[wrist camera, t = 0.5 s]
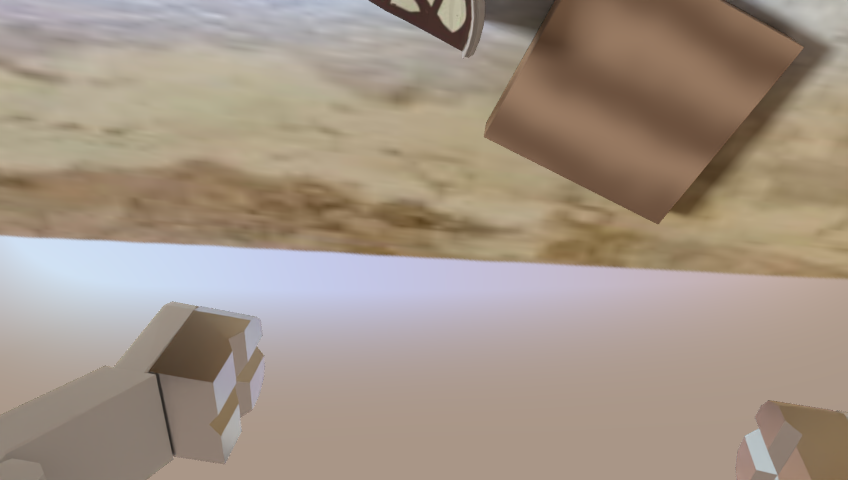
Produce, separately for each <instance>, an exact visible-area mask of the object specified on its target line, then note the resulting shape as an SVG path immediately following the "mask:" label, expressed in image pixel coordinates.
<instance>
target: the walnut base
mask: <svg viewBox="0 0 848 480" xmlns="http://www.w3.org/2000/svg"><path fill="white" fill-rule="evenodd" d="M803 48H804V47H803V46H801V45H800V44H799V43H797V42H796V41H795V40H793V39H792V38H791V37H789V36H788V35H786V34H784V33H782V32H781V31H779V30H777V29H775V28H773V27H772V26H770V25H768V24H766V23H764V22H763V21H761V20H759V19H757V18H755V17H754V16H752V15H750V14H748V13H746V12H745V11H743V10H741V9H739V8H737V7H736V6H734V5H732V4H730V3H728V2H727V1H725V0H555V1H554V3H553V5H552V7H551V8H550V10H549V12H548V14H547V16H546V17H545V19H544V21H543V23H542V24H541V26H540V28H539V30H538V32H537V33H536V35H535V37H534V39H533V41H532V42H531V44H530V46H529V48H528V49H527V51H526V53H525V55H524V57H523V58H522V60H521V62H520V64H519V65H518V67H517V69H516V71H515V73H514V74H513V76H512V78H511V80H510V81H509V83H508V85H507V87H506V89H505V90H504V92H503V94H502V96H501V98H500V99H499V101H498V103H497V105H496V106H495V108H494V110H493V112H492V114H491V115H490V117H489V119H488V121H487V122H486V128H485V133H484V137H485V138H487V139H489V140H491V141H493V142H495V143H497V144H499V145H501V146H503V147H505V148H507V149H509V150H511V151H513V152H515V153H517V154H519V155H521V156H523V157H525V158H527V159H529V160H531V161H533V162H535V163H537V164H539V165H541V166H543V167H545V168H547V169H549V170H551V171H553V172H555V173H557V174H559V175H561V176H563V177H565V178H567V179H569V180H571V181H573V182H575V183H577V184H579V185H581V186H583V187H585V188H587V189H589V190H591V191H593V192H595V193H597V194H599V195H601V196H603V197H605V198H607V199H609V200H611V201H613V202H614V203H616V204H618V205H620V206H622V207H624V208H626V209H628V210H630V211H632V212H634V213H636V214H638V215H640V216H642V217H644V218H646V219H648V220H650V221H652V222H654V223H656V224H659V223H660V222H661V220H662V219H663V218H664V217H665V216H666V214H667V213H668V212H669V211H670V210H671V208H672V207H673V206H674V205H675V203H676V202H677V201H678V200H679V199H680V197H681V196H682V195H683V194H684V193H685V191H686V190H687V189H688V188H689V187H690V185H691V184H692V183H693V182H694V180H695V179H696V178H697V177H698V176H699V174H700V173H701V172H702V171H703V170H704V168H705V167H706V166H707V165H708V163H709V162H710V161H711V160H712V159H713V157H714V156H715V155H716V154H717V153H718V151H719V150H720V149H721V148H722V147H723V145H724V144H725V143H726V142H727V140H728V139H729V138H730V137H731V136H732V134H733V133H734V132H735V131H736V130H737V128H738V127H739V126H740V125H741V123H742V122H743V121H744V120H745V119H746V117H747V116H748V115H749V114H750V113H751V111H752V110H753V109H754V108H755V106H756V105H757V104H758V103H759V102H760V100H761V99H762V98H763V97H764V96H765V94H766V93H767V92H768V91H769V90H770V88H771V87H772V86H773V85H774V83H775V82H776V81H777V80H778V79H779V77H780V76H781V75H782V74H783V73H784V71H785V70H786V69H787V68H788V66H789V65H790V64H791V63H792V62H793V60H794V59H795V58H796V57H797V56H798V54H799V53H800V52H801V51H802V49H803Z"/></svg>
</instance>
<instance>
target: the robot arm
mask: <svg viewBox="0 0 848 480" xmlns="http://www.w3.org/2000/svg"><path fill="white" fill-rule="evenodd" d="M261 337H262V327H261V320H260V319H259V318H257V317H255V316H250V315H245V314H239V313H234V312H229V311H223V310H218V309H213V308H208V307H202V306H200V307H198V306H193V305H188V304H183V303H178V302H170V303H168V304H166V305H164V306H163V307H162V308H161V310H160V311H159V312H158V313H157V314H156V316H155V317H154V318H153V319H152V321H151V322H150V323H149V324H148V326H147V327H146V328H145V329H144V330H143V332H142V333H141V334H140V335H139V336H138V338H137V339H136V340H135V342H134V343H133V344H132V345H131V347H130V348H129V349H128V350H127V351H126V352H125V354H124V355H123V356H122V357H121V358H120V360H119V361H118V362H117V363H116V365H115V366H114V367H110V366H103V367H101V368H99V369H97V370H95V371H92V372H90V373H88V374H86V375H84V376H82V377H80V378H77V379H75V380H73V381H71V382H69V383H67V384H65V385H63V386H61V387H58V388H56V389H54V390H52V391H50V392H48V393H46V394H43V395H41V396H39V397H37V398H35V399H33V400H31V401H29V402H26V403H24V404H22V405H20V406H18V407H16V408H14V409H12V410H10V411H8V412H5V413H3V414H1V415H0V480H147V479H148V478H149V477H151V476H152V475H153V474H155V473H156V472H157V471H159V470H160V469H161V468H163V467H164V466H165V465H167V464H168V463H169V462H171V461H172V460H173V456H174V457H181V458H187V459H194V460H200V461H206V462H213V463H220V464H225V463H226V461H227V459H228V457H229V455H230V453H231V451H232V449H233V447H234V446H235V444H236V442H237V440H238V438H239V436H240V433H241V431H242V429H241V420H240V417H242V416H244V415H245V414H247V413H248V412H250V411H252V410H253V408H254V406H255V403H256V401H257V399H258V397H259V394H260V391H261V387H262V383H263V380H264V370H265V363H264V355H263V354H262V353H261V351H260V350H259V349H258V347H257V345H258V343H259V341H260V339H261ZM755 419H756V421H757V424H758V426H759V429H757V430H755V431H753V432H752V433H750V434H748V435H746V436H744V439H743V441H742V442H741V445H740V447H739V449H738V452H737V459H736V477H737V480H848V412H845V411H833V410H829V409H823V408H816V407H810V406H803V405H797V404H790V403H784V402H777V401H771V400H768V401H767V402H765V403H764V404H763V405H761V407H760V409H759V411H758V413H757V414H756V416H755Z"/></svg>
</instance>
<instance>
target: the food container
mask: <svg viewBox="0 0 848 480" xmlns="http://www.w3.org/2000/svg"><path fill="white" fill-rule="evenodd" d="M369 1H371V2H372V3H374V4H375V5H377V6H379V7H380V8H382V9H384V10H385V11H387V12H389V13H391V14H393V15H395V16H397V17H399V18H401V19H403V20H405V21H407V22H409V23H411V24H413V25H415V26H417V27H419V28H421V29H422V30H424V31H426V32H428V33H430V34H432V35H433V36H435V37H437V38H439V39H441V40H442V41H444V42H446V43H448V44H450V45H452V46H453V47H455V48H457V49H459V50H461V51H462V59H464V57H467V58H469V57H470V56H472V55H473V54H474V52H475V50H476V48H477V45H478V43H479V41H480V37H481V33H482V30H483V26H484V17H485V0H369Z"/></svg>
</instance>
